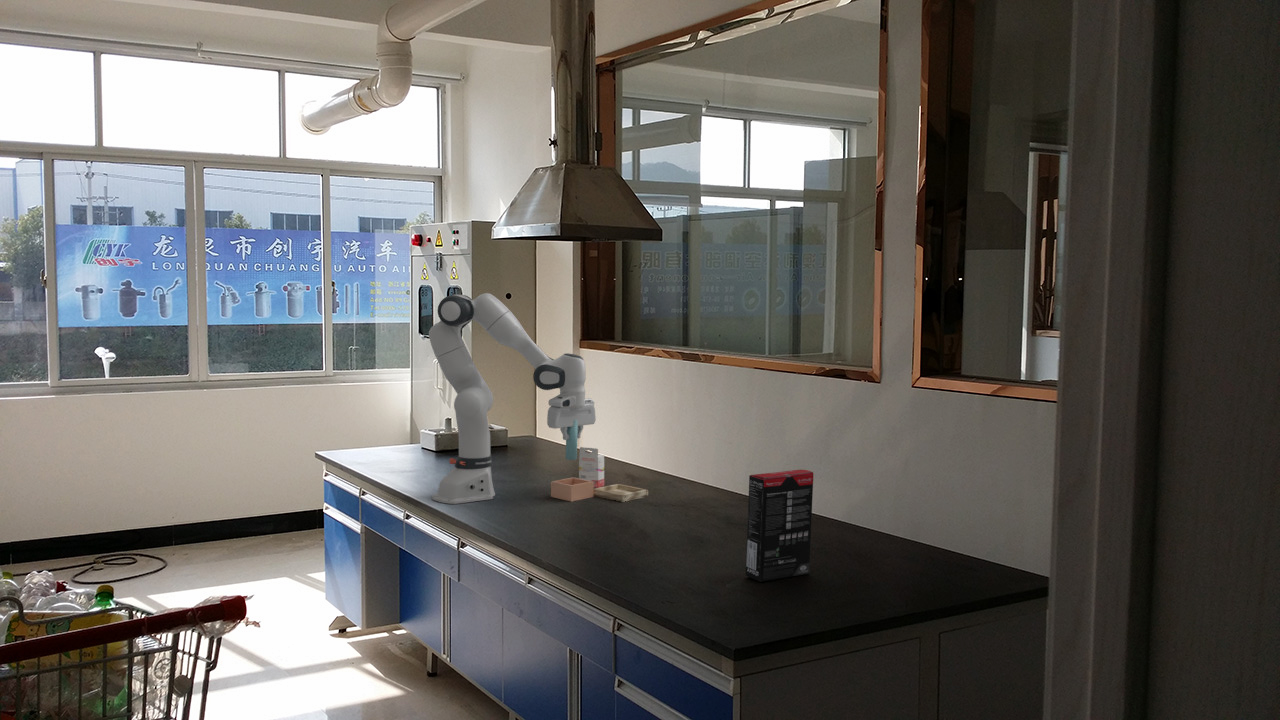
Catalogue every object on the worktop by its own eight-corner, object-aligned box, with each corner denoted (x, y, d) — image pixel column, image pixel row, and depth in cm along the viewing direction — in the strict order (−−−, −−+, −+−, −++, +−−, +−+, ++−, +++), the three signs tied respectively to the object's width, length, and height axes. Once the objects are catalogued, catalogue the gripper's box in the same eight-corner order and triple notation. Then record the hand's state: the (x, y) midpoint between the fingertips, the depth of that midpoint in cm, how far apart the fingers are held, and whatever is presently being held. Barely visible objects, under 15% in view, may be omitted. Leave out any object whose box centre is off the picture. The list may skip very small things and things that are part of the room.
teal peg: (570, 460, 347) (571, 420, 345) (563, 458, 349) (564, 419, 348) (579, 459, 349) (580, 419, 348) (571, 457, 352) (572, 418, 351)
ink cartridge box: (604, 485, 370) (605, 446, 369) (598, 488, 365) (598, 448, 364) (585, 483, 374) (585, 445, 373) (578, 486, 369) (578, 446, 368)
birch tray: (622, 502, 342) (622, 495, 342) (592, 495, 353) (592, 488, 352) (648, 496, 352) (648, 489, 352) (618, 490, 362) (618, 483, 362)
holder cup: (571, 501, 343) (571, 485, 343) (551, 496, 350) (551, 481, 350) (593, 496, 351) (593, 481, 350) (573, 492, 358) (573, 477, 357)
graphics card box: (795, 567, 265) (796, 467, 263) (812, 574, 259) (814, 471, 257) (744, 577, 256) (746, 473, 253) (761, 584, 250) (763, 477, 248)
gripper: (587, 397, 357) (587, 435, 358) (544, 400, 343) (544, 440, 344) (600, 398, 353) (599, 437, 354) (556, 402, 338) (556, 442, 339)
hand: (571, 438), depth 349 cm, fingers closed on teal peg, 4 cm apart
